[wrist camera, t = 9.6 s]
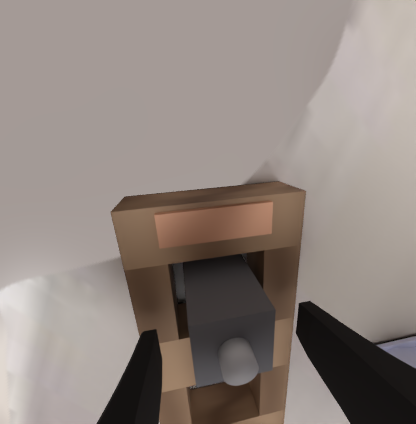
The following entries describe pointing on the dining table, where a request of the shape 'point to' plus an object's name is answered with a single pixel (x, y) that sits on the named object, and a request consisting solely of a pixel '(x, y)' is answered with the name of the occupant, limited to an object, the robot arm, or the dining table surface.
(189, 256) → the brown flat rectangular frame
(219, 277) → the plug
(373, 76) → the dining table surface
